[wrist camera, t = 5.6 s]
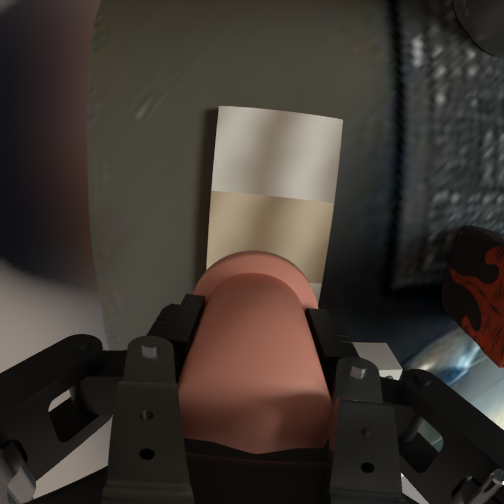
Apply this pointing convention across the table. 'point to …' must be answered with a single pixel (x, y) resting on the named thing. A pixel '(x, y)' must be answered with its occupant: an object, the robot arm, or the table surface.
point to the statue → (478, 289)
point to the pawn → (254, 359)
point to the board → (274, 186)
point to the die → (380, 358)
